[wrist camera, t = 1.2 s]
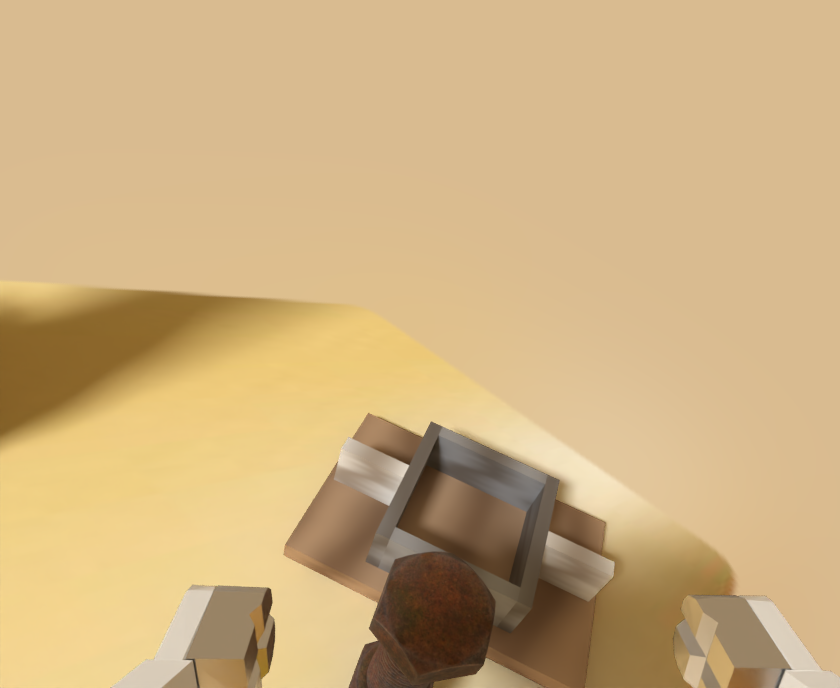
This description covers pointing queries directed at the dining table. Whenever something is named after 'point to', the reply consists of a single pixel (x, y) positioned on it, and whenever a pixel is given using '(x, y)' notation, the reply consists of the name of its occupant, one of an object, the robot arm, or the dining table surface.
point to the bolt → (427, 624)
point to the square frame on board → (464, 538)
